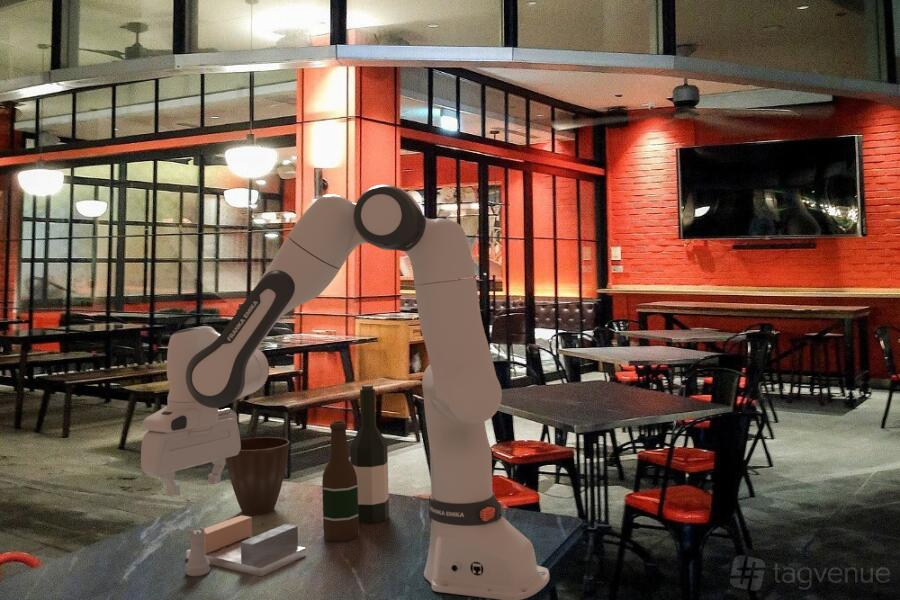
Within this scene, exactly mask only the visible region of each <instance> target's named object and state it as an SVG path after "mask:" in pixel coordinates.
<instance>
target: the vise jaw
mask: <svg viewBox="0 0 900 600" xmlns="http://www.w3.org/2000/svg"><path fill="white" fill-rule="evenodd" d="M252 520H253V519H252V516H247V515H241V514H240V515H237V516H235V517H232V518H230V519H228V520H224V521H222V522H218V523H215V524H213V525H211V526H208V527H205V528H204V531H205V532H206V535H205V537H204V541H205V543H204V548H205V554H206V553H209V552H211V551H214V550H216V549H219V548H221V547H224V546H226V545H229V544H231V543H234V542H236V541H239V540H241V539H244V538H246V537H249V536H251V537H252V536H253V524H252V523H253V522H252Z"/></svg>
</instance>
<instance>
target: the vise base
mask: <svg viewBox="0 0 900 600" xmlns="http://www.w3.org/2000/svg"><path fill="white" fill-rule="evenodd" d="M298 529H299V527H298V525H294V524H289V523H285V524H282V525H280V526H277V527H274V528H273V529H270V530H268V531H265V532H262V533H259V534H257V535H256V536H252V535H251V536H249V537H246V538H244V539H241V540H239V541H236V542H234V543H231V544H229V545H226V546H224V547H221V548H219V549H216V550H214V551H211V552H209V553H206V557H207V558H208V560H209V562H210V565H212V566H217V567H220V568H225V569H228V570H232V571H233V570H234V571H237V572H241V573H245V574H250V575H254V576H258V577H263V576H266V575H267V574H269V573H271V572H273V571H276V570H278V569H281V568H282V567H284V566H286V565H289V564H291V563H293V562H295V561H297V560H301V558H303V557H307V548H306V547H305V546H304V547H303V546H299V532H298ZM190 550H191V548H189V549H187V550H185V551H186V552H185V553H186V554H185V555H186V556H185V557H186V559H187V560H189V557H190Z"/></svg>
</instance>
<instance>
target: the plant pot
mask: <svg viewBox="0 0 900 600" xmlns="http://www.w3.org/2000/svg"><path fill="white" fill-rule="evenodd" d="M240 443H241V449H240V451H239V453H238V455H236V456H232V457H228V458H225V462H226V466H227V470H228V475H229V478H230V479H229V480H230V481H231V482H230V483H231V486H232V489H233V491H234V495H235V498H236V500H237V503H238V506H239V509H240V510H241V511H240V512H242V514H244V515H249V516H254V515H255V516H257V515H259V516H260V515H264V514H268V513H271V512H273V511H274V510H275V507H276V506H277V501H278V498H279V497H280V492H281V489H282V485H283V480H284V477H285V472H286V468H287V463H288V457H289V449H290V440H288V439H287V438H285V437H274V436H273V437H272V436H262V437H261V436H257V437H247V438H240Z"/></svg>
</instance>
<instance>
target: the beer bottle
mask: <svg viewBox="0 0 900 600" xmlns="http://www.w3.org/2000/svg"><path fill="white" fill-rule="evenodd" d="M329 424H330V425H329V429H330V453H329V461H328V462H327V464H326V465H325V467H324V470H323V473H322V480H321V484H322V485H321V487H322V517H323V518H322V521H323V523H322V525H323V538H324V540H325V541H329V542H333V543H339V542H340V543H341V542H343V543H344V542H349V541H352V540H354V539H356V538H358V537H359V528H360V527H359V524H360V523H358V484H357V475H356V472H355V469H354V467H353V465H352V463H351V459H350V458H349V453H348V442H347V430H346V429H348V426H347V423H346V421H341V420H339V421H338V420H337V421H332V422H331V423H329Z"/></svg>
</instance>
